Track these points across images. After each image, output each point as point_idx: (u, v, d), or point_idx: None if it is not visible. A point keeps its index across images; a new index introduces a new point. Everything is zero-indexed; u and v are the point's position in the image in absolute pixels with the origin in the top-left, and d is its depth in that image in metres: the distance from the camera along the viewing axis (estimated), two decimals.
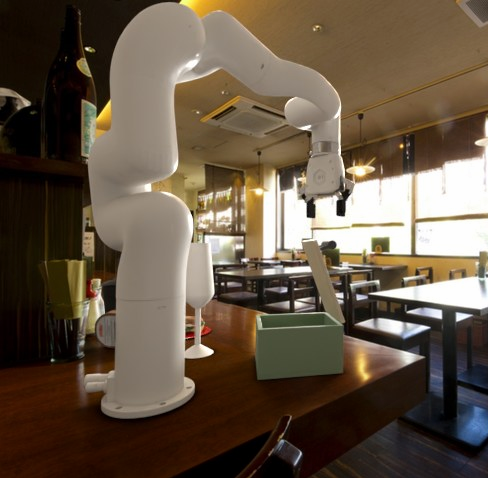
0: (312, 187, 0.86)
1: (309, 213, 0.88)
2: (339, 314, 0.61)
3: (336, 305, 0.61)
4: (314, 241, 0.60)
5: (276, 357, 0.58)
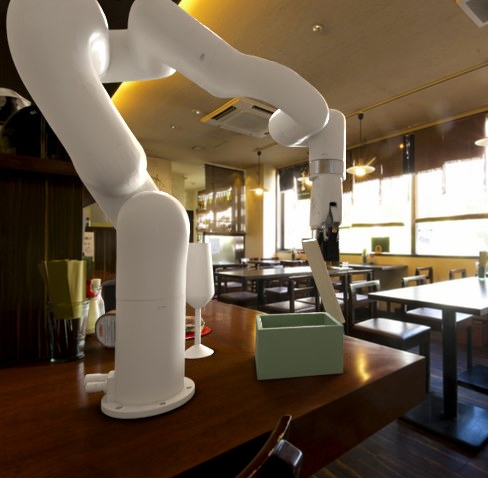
0: (311, 219, 0.69)
1: None
2: (339, 314, 0.61)
3: (336, 305, 0.61)
4: (314, 241, 0.60)
5: (276, 357, 0.58)
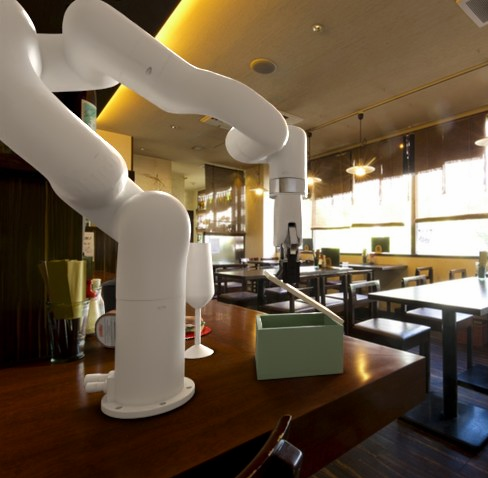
0: None
1: None
2: (335, 319, 0.61)
3: (327, 314, 0.60)
4: (269, 278, 0.58)
5: (276, 357, 0.58)
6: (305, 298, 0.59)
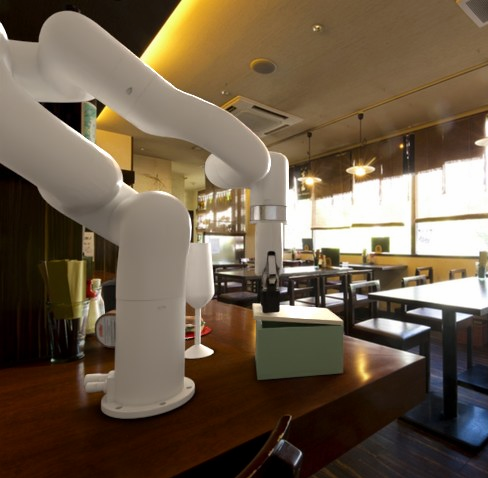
0: None
1: None
2: (334, 323, 0.61)
3: (324, 322, 0.60)
4: (255, 318, 0.57)
5: (276, 357, 0.58)
6: (297, 319, 0.59)
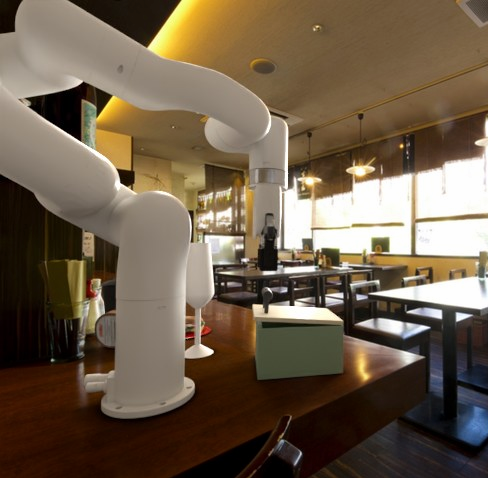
0: None
1: (259, 262, 0.68)
2: (334, 323, 0.61)
3: (324, 323, 0.60)
4: (255, 319, 0.57)
5: (276, 357, 0.58)
6: (297, 320, 0.59)
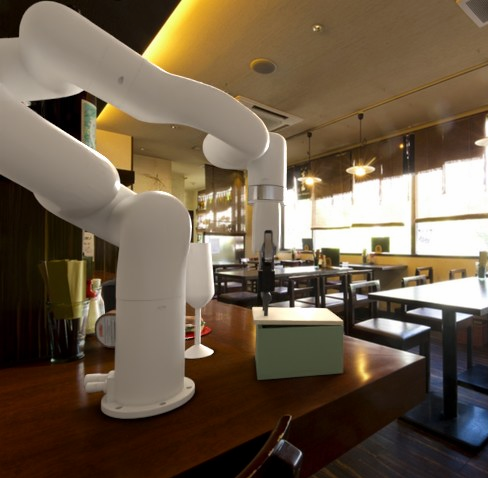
0: None
1: None
2: (334, 324, 0.61)
3: (324, 323, 0.60)
4: (255, 323, 0.57)
5: (276, 357, 0.58)
6: (297, 321, 0.59)
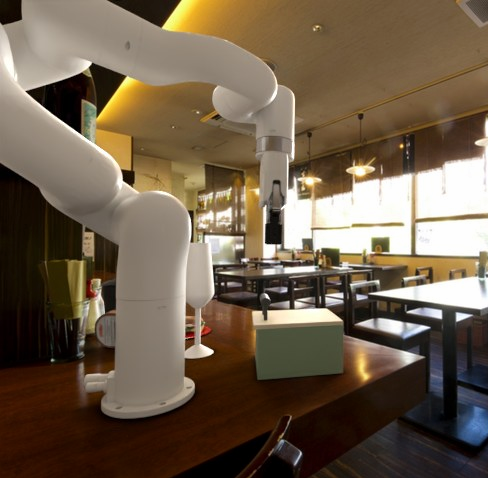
0: None
1: None
2: (334, 324, 0.61)
3: (324, 324, 0.60)
4: (255, 328, 0.57)
5: (276, 357, 0.58)
6: (297, 324, 0.59)
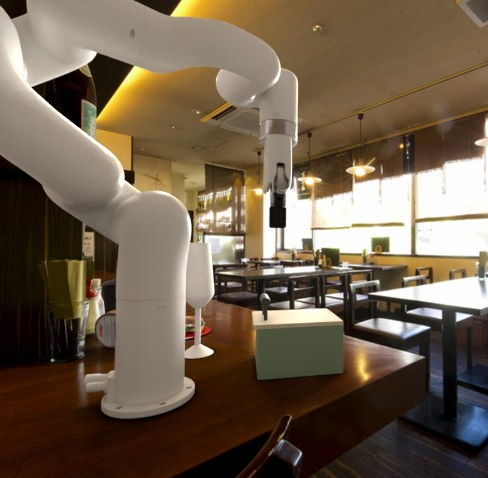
0: None
1: None
2: (334, 324, 0.61)
3: (324, 324, 0.60)
4: (255, 328, 0.57)
5: (276, 357, 0.58)
6: (297, 324, 0.59)
